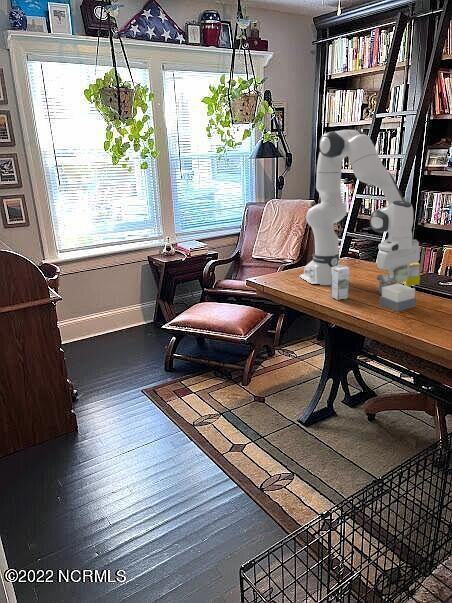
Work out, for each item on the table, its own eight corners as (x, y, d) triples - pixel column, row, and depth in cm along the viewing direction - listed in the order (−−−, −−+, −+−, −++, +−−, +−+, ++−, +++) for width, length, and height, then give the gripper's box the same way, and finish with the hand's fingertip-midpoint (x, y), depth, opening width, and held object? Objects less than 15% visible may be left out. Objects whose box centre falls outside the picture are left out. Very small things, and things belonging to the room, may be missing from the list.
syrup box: (341, 295, 205) (342, 264, 200) (349, 299, 199) (349, 267, 194) (330, 297, 203) (330, 266, 198) (337, 301, 198) (338, 269, 193)
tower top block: (381, 296, 189) (382, 287, 188) (398, 292, 193) (398, 283, 191) (397, 302, 182) (398, 293, 180) (414, 298, 185) (415, 288, 183)
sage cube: (388, 279, 185) (389, 268, 184) (397, 277, 187) (398, 265, 186) (398, 282, 181) (398, 270, 179) (407, 280, 183) (408, 268, 181)
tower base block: (379, 305, 190) (379, 296, 189) (396, 300, 194) (397, 291, 193) (397, 312, 182) (398, 303, 181) (415, 307, 186) (416, 298, 185)
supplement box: (415, 283, 212) (417, 261, 209) (419, 287, 207) (421, 264, 203) (402, 284, 213) (403, 261, 209) (405, 288, 207) (407, 265, 204)
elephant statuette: (382, 297, 200) (383, 280, 197) (368, 287, 211) (369, 272, 208) (400, 294, 201) (402, 278, 198) (386, 285, 212) (388, 269, 209)
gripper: (412, 237, 186) (410, 269, 191) (374, 245, 178) (373, 279, 182) (424, 239, 181) (422, 272, 185) (386, 248, 172) (385, 282, 177)
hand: (398, 276), depth 184 cm, fingers closed on sage cube, 5 cm apart
